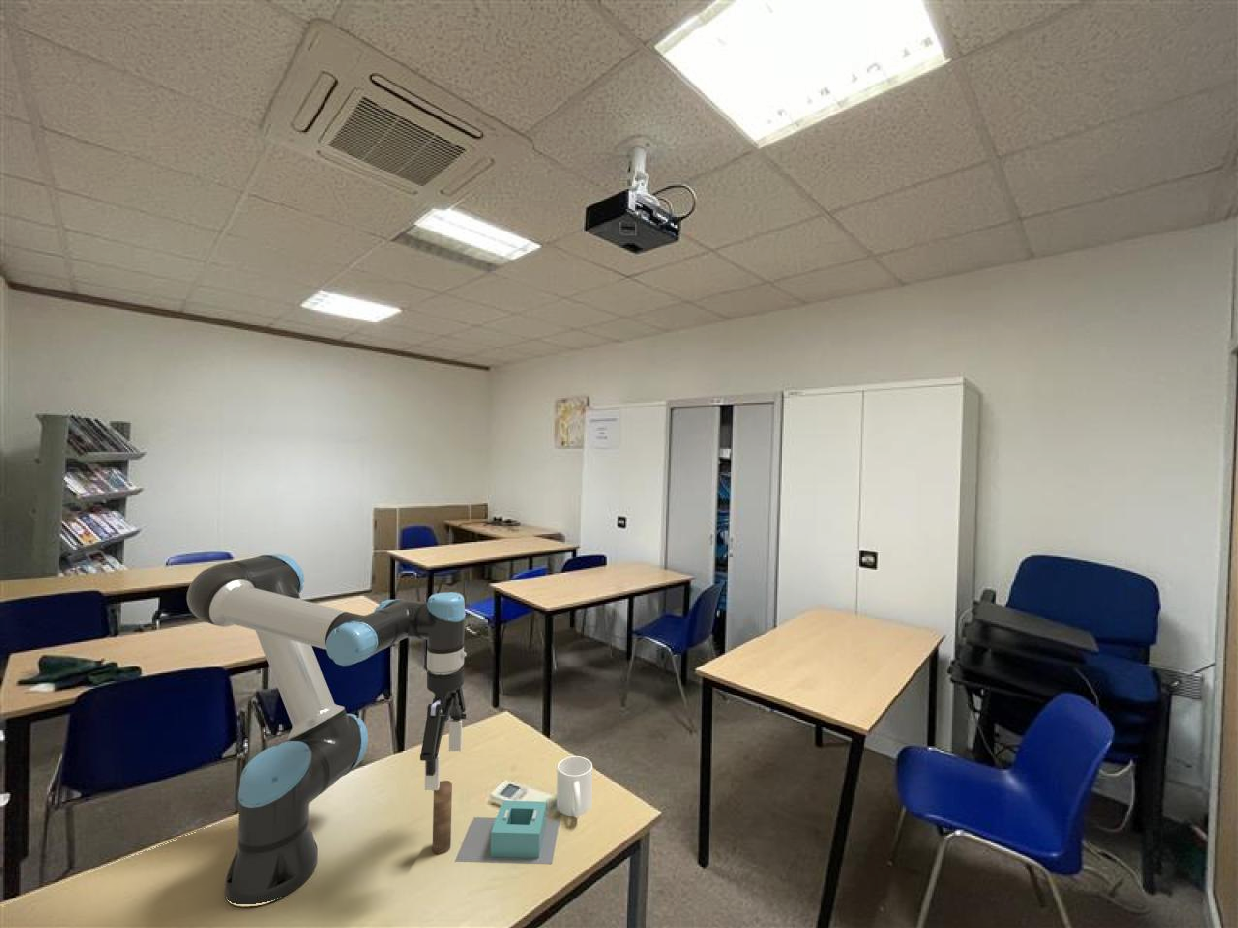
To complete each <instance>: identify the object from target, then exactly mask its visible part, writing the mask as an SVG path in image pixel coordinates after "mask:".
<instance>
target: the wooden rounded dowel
mask: <svg viewBox="0 0 1238 928" xmlns="http://www.w3.org/2000/svg"><path fill="white" fill-rule="evenodd" d="M452 786H453V784H452V782H450V781H448V780H443V781H440V788H439V790H433V811H432V813H433V815H432V817H433V818H432V854H435V855H439V856H440V855H444V854H445V853H448V852H449V851H450V849H451V842H452V841H451V839H452V838H451V835H452V800H453V797H452V793H453V792H452V791H453V789H452V788H453V787H452Z"/></svg>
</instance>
